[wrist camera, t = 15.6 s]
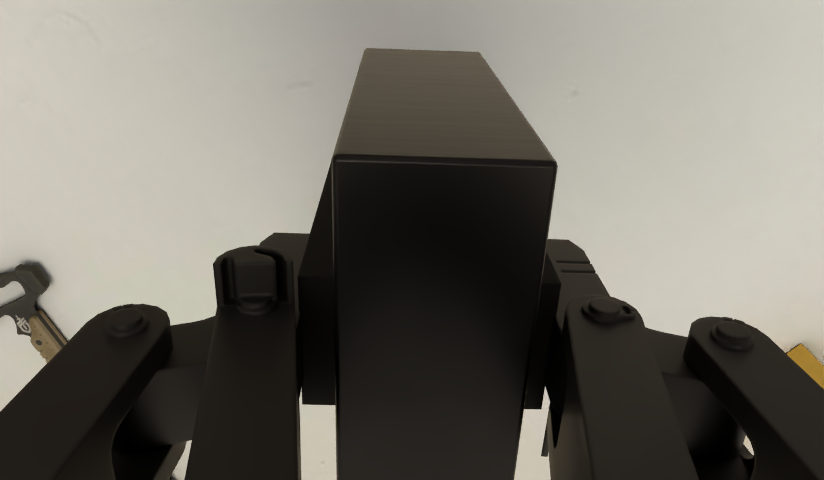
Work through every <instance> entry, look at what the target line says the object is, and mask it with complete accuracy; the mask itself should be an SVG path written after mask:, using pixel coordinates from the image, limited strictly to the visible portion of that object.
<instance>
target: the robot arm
mask: <svg viewBox="0 0 824 480" xmlns="http://www.w3.org/2000/svg"><path fill="white" fill-rule="evenodd" d="M213 269H214V279H215V289H216V298H217V311H216V316H213V317H211V318H208V319H205V320H201V321H196V322H191V323H185V324H178V325H172V326H170V320H169V317H168V315H167V312H166V311H164V310H162V309H161V308H159V307H156V306H151V305H146V304H127V305H123V306H117V307H114V308H112V309H109V310H107V311H104V312H102V313H100V314H98V315H96V316H95V317H94V318H92V319H91V320H89V321H88V322H87V323H86V324H85V325H84V326H83V327H82V328H81V329H80V330H79V331H78V332H77V333H76V334H75V335H74V336H73V337H72V338H71V339H70V340H69V341H68V343H67V344H66V345H65V346H64V347H63V348H62V349H61V350H60V351H59V352H58V353H57V354H56V355H55V356H54V357H53V358H52V359H51V360H50V361H49V362H48V363H47V364H46V365H45V366H44V367H43V368H42V369H41V370H40V371H39V372H38V373H37V374H36V376H35V377H34V378H33V379H32V380H31V381H30V382H29V383H28V384H27V385H26V386H25V387H24V388H23V389H22V390H21V391H20V392H19V393H18V394H17V395H16V396H15V397H14V398H13V399H12V400H11V401H10V402H9V403H8V404H7V405H6V406H5V407H4V409H3V410H2V411H1V412H0V480H169V478H170V476H171V474H172V472H173V471H174V469H175V467H176V465H177V463H178V461H179V459H180V458H181V456H182V454H183V452H184V449H185V445H186V442H187V441H189V440H192V443H191V449H190V454H189V459H188V465H187V470H186V475H185V480H301V449H300V412H299V397H300V392H301V387H302V404H310V405H336V402H335V341H334V280H333V219H332V161H331V164H330V168H329V171H328V174H327V178H326V181H325V185H324V188H323V191H322V195H321V198H320V202H319V205H318V208H317V212H316V215H315V218H314V222H313V225H312V229H311V232H310V234H300V233H273V234H272V235H270V236H269V237H268V238H266V239H265V240H263V241H262V242H261V243H260V245H259V246H256V245H255V246H247V247H240V248H236V249H233V250H230V251H227V252H225V253H224V254H222V255H220V256H219V257H217V259H216V260H215V262H214V263H213ZM545 386H546V390H547V393H548V396H549V399H550V406H549V412H548V418H547V424H546V430H545V436H544V442H543V448H542V454H541V456H545V457H547V456H548V452H549V462H550V475H551V480H824V389H823V388H822V387H821V386H820V385H819V384H818V383H817V382H816V381H815V380H813V379H812V378H811V377H810V376H809V375H808V374H807V373H806V372H805V371H804V370H803V369H802V368H801V367H800V366H799V365H798V364H796V363H795V362H794V361H793V360H792V359H791V358H790V357H789V356H788V355H787V354H786V353H785V352H784V351H783V350H782V349H781V348H779V347H778V346H777V345H776V344H775V343H774V342H773V341H772V340H771V339H770V338H769V337H768V336H766V335H765V334H764V333H762V332H761V331H759V330H758V329H757V328H754V327H752V326H750V325H748V324H745V323H744V322H742V321H739V320H736V319H734V320H732V318H727V317H705V318H699V319H697V320H696V321H694V322H693V323H692V324H691V328H690V331H689V335H688V337H683V336H679V335H674V334H669V333H664V332H659V331H656V330H652V329H648V328H646V327H645V325H644V322H643V320H642V317H641V315H640V314H639V313H638V311H637V310H636V309H635V308H634V307H632V306H631V305H629V304H628V303H626V302H624V301H621V300H619V299H616V298H614V297H610V295H609V294H608V292H607V290H606V288H605V287H604V285H603V283H602V282H601V280H600V278H599V276H598V275H597V274H595V270H594V268H593V266H592V264H590V261H589V259H588V257H587V256H586V254H585V252H584V251H583V250H582V249H581V248H579V247H578V246H577V245H575V244H574V243H572V242H571V241H569V240H558V239H547V246H546V253H545V261H544V268H543V275H542V282H541V289H540V296H539V304H538V311H537V318H536V325H535V332H534V339H533V347H532V354H531V361H530V368H529V375H528V382H527V390H526V397H525V404H524V409H541V407H542V401H543V395H544V389H545ZM746 435H747V437H748V438H749V440H750V442H751V445H752V448H753V451H754V456H753V455H752V454H751V453H750V452H749V451H748V449H747V448H746V447H745V446H744V444H743V442H744V439H745V436H746Z"/></svg>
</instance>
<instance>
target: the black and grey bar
mask: <svg viewBox="0 0 824 480" xmlns="http://www.w3.org/2000/svg"><path fill="white" fill-rule="evenodd" d="M557 167H558V166H557V163H556V161H555V159H554V158H553V157H552V155H551V154H550V152H549V151H548V149H547V148H546V147H545V145H544V144H543V142H542V141H541V139H540V138H539V137H538V135H537V134H536V132H535V131H534V129H533V128H532V127H531V125H530V124H529V122H528V121H527V119H526V118H525V117H524V115H523V114H522V112H521V111H520V109H519V108H518V107H517V105H516V104H515V102H514V101H513V99H512V98H511V97H510V95H509V94H508V92H507V91H506V89H505V88H504V87H503V85H502V84H501V82H500V81H499V79H498V78H497V77H496V75H495V74H494V72H493V71H492V69H491V68H490V67H489V65H488V64H487V62H486V61H485V59H484V58H483V57H482V55H481V54H480V53H479V52H461V51H433V50H405V49H376V48H367V49H365V50H364V53H363V57H362V60H361V63H360V67H359V70H358V73H357V77H356V80H355V83H354V87H353V90H352V93H351V97H350V100H349V103H348V107H347V110H346V113H345V117H344V120H343V123H342V127H341V130H340V133H339V137H338V140H337V143H336V147H335V150H334V153H333V157H332V219H333V280H334V341H335V402H336V463H337V480H514V475H515V468H516V461H517V454H518V447H519V440H520V433H521V425H522V418H523V411H524V404H525V397H526V390H527V382H528V375H529V368H530V361H531V354H532V347H533V339H534V332H535V325H536V318H537V311H538V304H539V296H540V289H541V282H542V275H543V268H544V261H545V253H546V246H547V239H548V232H549V225H550V218H551V210H552V203H553V196H554V189H555V182H556V175H557Z"/></svg>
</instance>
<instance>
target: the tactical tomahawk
mask: <svg viewBox="0 0 824 480" xmlns="http://www.w3.org/2000/svg"><path fill="white" fill-rule="evenodd" d="M11 281H17V282H19V283H20V284H21V285H22V286H23V288H24V290H25V295H24V296H23V297H21V298H19V299H17V300H15V301H13V302H10V303H8V304H6V305H4V306H1V307H0V318H1V317H2V316H4V315H9V316H11V317H12V318H13V319H14V321H15V323H16V326H17V334H19V335H20V334H24V335H28V336H30V337H31V343H32V344H33V346H34V347H35V348H36V350H37V351H39V352H40V353H41V354H40V355H41V356H42V357H43V358H45V359H46V362H47V363H48V362H49V361H50V360H51V359H52V358H53V357H54V356H55V355H56V354H57V353H58V352H59V351H60V350H61V349H62V348H63V347H64V346H65V345H66V344H67V342H66V341H65V339H64V338H63V337H62V335H61V334H60V333H59V332H58V330H57V329H56V328H55V326H54V325H53V324H52V323H51V321H50V320H49V319H48V318H47V316H46V315H45V314H44V312H43V311H41V310H39V311H36V310H35V307H34V305H35V301H36V299H37V297H38V296H39V294H41V295H42V294H43V293H44V292H45V291H46V289H47V288H48V286H49V281H48V280H47V278H46V277H45V276H44V274H43V273H42V271H41V270H40V269H39V267H38V266H30V265H22V264H20V265H18V266H17V267H16V268H15V271H14V272H9V273H4V274H0V288H3V287H5V286H6V285H7V284H9V283H10V282H11ZM169 480H171V479H170V478H169Z"/></svg>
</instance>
